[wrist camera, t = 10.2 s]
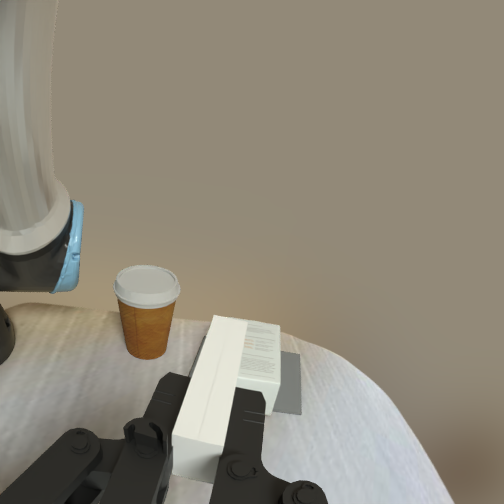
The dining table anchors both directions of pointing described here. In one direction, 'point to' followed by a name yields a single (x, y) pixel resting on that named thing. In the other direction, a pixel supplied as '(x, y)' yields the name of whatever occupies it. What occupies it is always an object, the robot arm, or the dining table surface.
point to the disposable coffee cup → (146, 308)
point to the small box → (261, 361)
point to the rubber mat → (282, 383)
